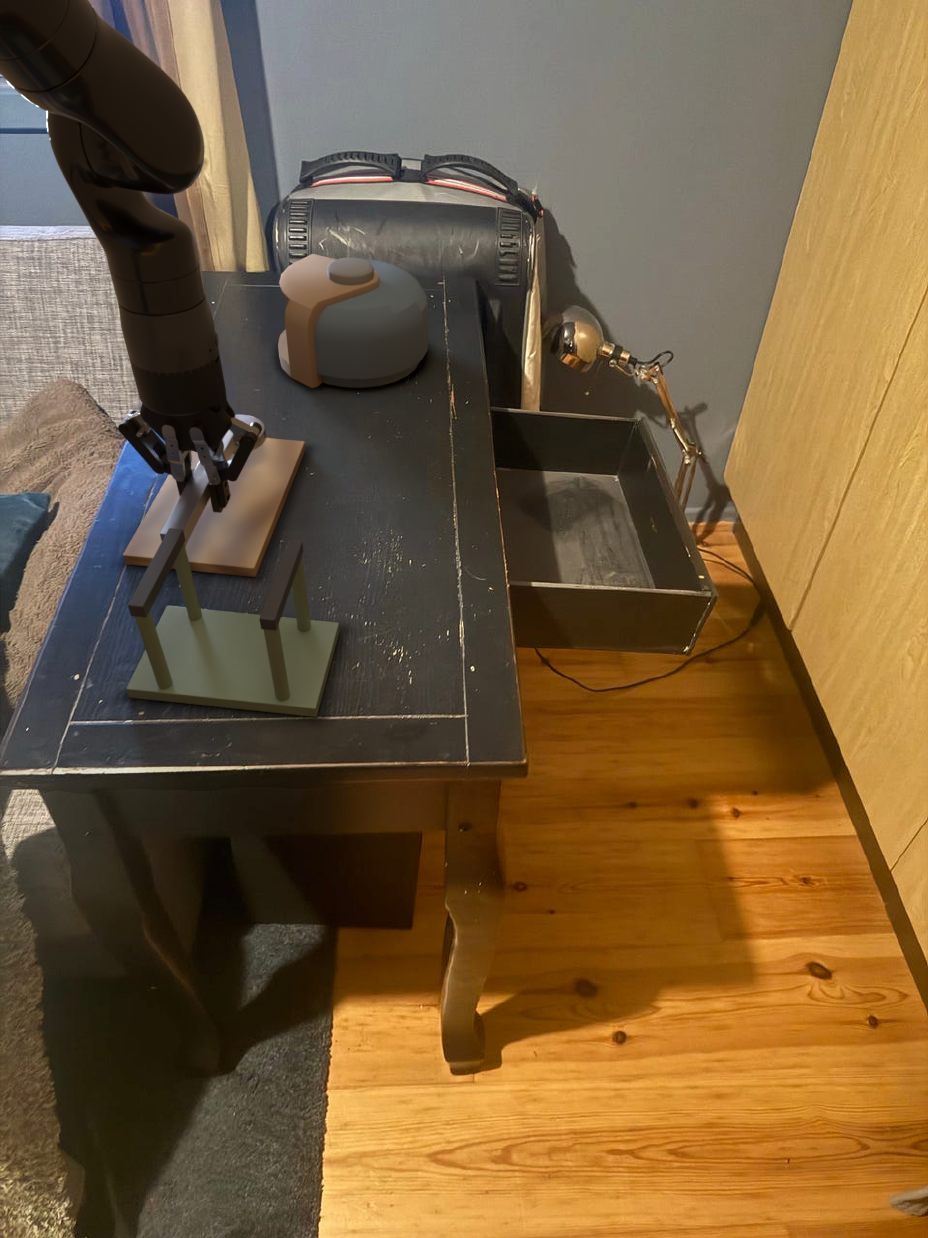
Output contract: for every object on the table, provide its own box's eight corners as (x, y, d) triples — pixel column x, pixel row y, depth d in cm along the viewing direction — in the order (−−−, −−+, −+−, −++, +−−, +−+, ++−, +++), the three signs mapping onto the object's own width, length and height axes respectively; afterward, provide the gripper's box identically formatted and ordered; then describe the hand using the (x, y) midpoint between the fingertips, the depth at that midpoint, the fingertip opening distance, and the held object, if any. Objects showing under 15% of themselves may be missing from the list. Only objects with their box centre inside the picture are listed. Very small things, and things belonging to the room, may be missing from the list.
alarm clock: (278, 324, 116) (268, 236, 108) (418, 320, 119) (419, 234, 111) (280, 395, 103) (268, 302, 95) (437, 388, 106) (440, 297, 98)
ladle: (208, 563, 76) (202, 537, 74) (145, 557, 77) (137, 531, 74) (272, 426, 93) (268, 401, 91) (220, 421, 93) (215, 396, 91)
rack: (129, 697, 69) (93, 605, 61) (169, 614, 76) (142, 521, 68) (316, 717, 69) (305, 627, 61) (339, 631, 76) (332, 540, 68)
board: (124, 564, 80) (121, 555, 80) (196, 439, 96) (194, 430, 95) (255, 577, 80) (254, 568, 79) (305, 449, 95) (305, 441, 95)
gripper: (76, 361, 68) (127, 523, 81) (239, 376, 68) (265, 536, 80) (111, 320, 74) (154, 478, 86) (263, 334, 73) (283, 490, 86)
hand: (207, 505), depth 83 cm, fingers closed on ladle, 2 cm apart
